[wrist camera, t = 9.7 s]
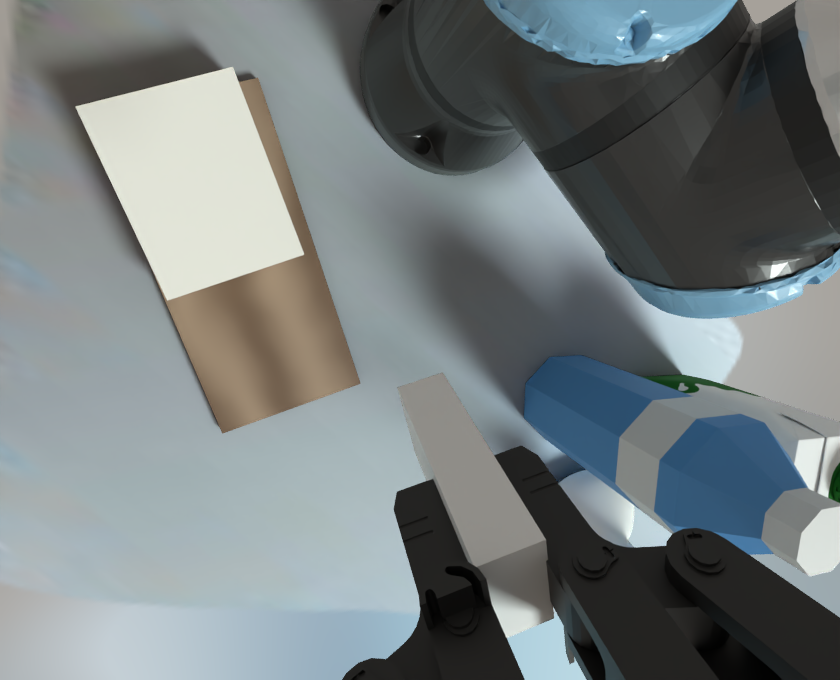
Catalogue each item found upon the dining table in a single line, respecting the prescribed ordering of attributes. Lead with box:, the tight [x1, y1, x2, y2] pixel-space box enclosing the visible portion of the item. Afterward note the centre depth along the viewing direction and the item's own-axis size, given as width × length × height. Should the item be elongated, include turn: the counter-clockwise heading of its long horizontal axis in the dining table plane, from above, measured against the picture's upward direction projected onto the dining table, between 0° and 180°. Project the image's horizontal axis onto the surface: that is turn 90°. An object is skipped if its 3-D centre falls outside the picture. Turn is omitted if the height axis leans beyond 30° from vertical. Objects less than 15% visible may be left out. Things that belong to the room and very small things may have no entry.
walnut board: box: [146, 78, 360, 433], centre depth 38 cm, size 12×25×1 cm, turn 16°
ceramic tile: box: [75, 67, 304, 301], centre depth 34 cm, size 3×10×13 cm
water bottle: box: [524, 355, 840, 576], centre depth 37 cm, size 9×9×25 cm
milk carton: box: [642, 375, 840, 503], centre depth 42 cm, size 9×9×20 cm
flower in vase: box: [558, 470, 634, 547], centre depth 40 cm, size 13×11×25 cm
